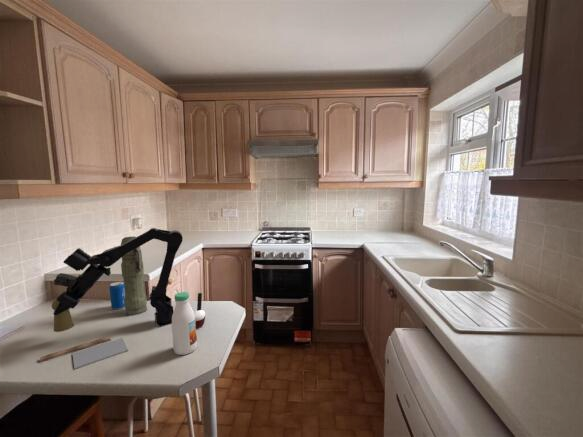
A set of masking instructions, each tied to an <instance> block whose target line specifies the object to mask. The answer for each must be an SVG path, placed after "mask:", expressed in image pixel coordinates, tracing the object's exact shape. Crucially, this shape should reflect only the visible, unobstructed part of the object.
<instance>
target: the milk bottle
mask: <svg viewBox="0 0 583 437" xmlns="http://www.w3.org/2000/svg"><path fill="white" fill-rule="evenodd" d="M189 300H190V294H189V292H187V291H181V292H178V293H175V294H174V302H175V306H174V308H173V315H172V323H171V329H172V330H171V333H172V344H173V352H174V353H175V354H176V355H177V356H178V355H179V356H183V355H189V354H191V353H193V352H194V351H196V349H197V348H198V339H197V338H198V337H197V335H198V334H197V328H196V321H195V314H194V312H195V311H194V310H193V308H192V306H191V304H190V301H189Z"/></svg>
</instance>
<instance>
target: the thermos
mask: <svg viewBox="0 0 583 437" xmlns="http://www.w3.org/2000/svg"><path fill="white" fill-rule="evenodd" d="M136 237H137V236H125V237H123V238H122V239H121V242H120V245H123V244H125V243H126V242H128V241H130V240H132V239H134V238H136ZM142 255H143V254H142V250H141V246H139V247H137V248H136V249H134V250H132V251H130V252H128V253H127V254H125V255H124V256H123V257H121V264H120V267H121V268H120V269H121V276H122V278H123V282H124V288H125V299H124V303H125V308H124V309H125V314H126V315H127V316H137V315H140V314H143V313H145V312H147V310H148V308H147V307H148V306H147V304H148V301H147V295H146V293H145V283H144V273H145V270H144V261H143V256H142Z"/></svg>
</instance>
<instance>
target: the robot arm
mask: <svg viewBox="0 0 583 437" xmlns="http://www.w3.org/2000/svg"><path fill="white" fill-rule="evenodd" d="M135 237H136V238H134V239H132V240H130V241H128V242H126V243H125V244H123V245H121V244H120V245H117V246H114V247H111V248H108V249H105V250H104V251H103V252H101V253H98V254H93V255H92V256H91V255H89V253H87V252H85V251H84V250H83V249H82V248H80V247H78V248H77V249H76V250H75V251H74V252H72V253H71V254H70V255H68V256H67V257H66V258H65V259H64V260H63V263H64V264H65V265H67V266H68V267H70V268H71V269H73V270H74V271H76V272H78V271H83V272H82V273H81V274H79V275H78V276H75V275H72V274H67V273H62V272H61V273H58V274H57V275H56V276H55V279H54V280H53V285H55V286H62V287H67V288H66V291H63V292H62V293H61V294H60V295H58V297H57V298H56V299H55V300H57V301H59V302H60V303H59V305H58V307H57V308H56V310H55V312H54V311H53V313H52V314H53V316H54V315H58V314H60V313H62V312H64V311H66V310H68V309H69V310H70V309H75V307H76V306H77V305H78V304H79V303H80V301H81V299H82V298H83V297H84V296H85V295H86V294H87V293H88V291H89V290H90V289H92V287H94V285H95V284H96V282H98V280H100V278H102V276H103V275H106V276H107V277H109V276H110V275H111V271H112V270H111V266H113V265H114V264H115V263H117V262H118V261H119V260H120V259H122V257H123V256H124V255H125V254H127V253H128V252H130V251H132V250H134V249H136V248H137V247H139V246H140V247H141V246H143V245H145V244H146V243H148V242H150V241H152V240H158V241H161V242H164V243H166V244H167V245H166V253H165V255H164V260H163V263H162V267H161V270H160V274H159V278H158V282H157V284H156V285H152V287H151V291H150V294H149V297H148V301H149V303H150V306H151V307H152V308H155V312H154V313H153V314H154V322H155V324H157V326H158V327H163V326H166V325H169V324H172V315H173V312H174V306H173V305H172V298H171V297H170V296H168V295H167V288H168V282H169V280H170V277H171V276H170V275H171V271H172V268H173V265H174V261H175V257H176V254H177V252H178V250H179V249H180V247H181V245H182V243H183V238H184V237H183V234H182V233H181V232H180V231H179V230H175V229H174V230H164V229H159V228H156V227H152V228H150V229H149V230H147V231H145V232H144V233H142V234H140V235H137V236H135ZM87 266H88V267H87ZM84 269H85V270H84Z"/></svg>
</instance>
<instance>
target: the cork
mask: <svg viewBox="0 0 583 437" xmlns="http://www.w3.org/2000/svg"><path fill="white" fill-rule="evenodd" d="M59 303H60V302H59V301H57V300H56V299H55V300H53V301H52V303H51V308H52V310H54V311H53V313H54V312H55V310H56V308H57V307H58V305H59ZM74 326H75V324H74V321H73V318H72V314H71V310H70V309H68V310H66V311H64V312H62V313H60V314H58V315H54V314H53V332H56V333H61V332H64V331H68V330H70V329H72V328H73V327H74Z"/></svg>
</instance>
